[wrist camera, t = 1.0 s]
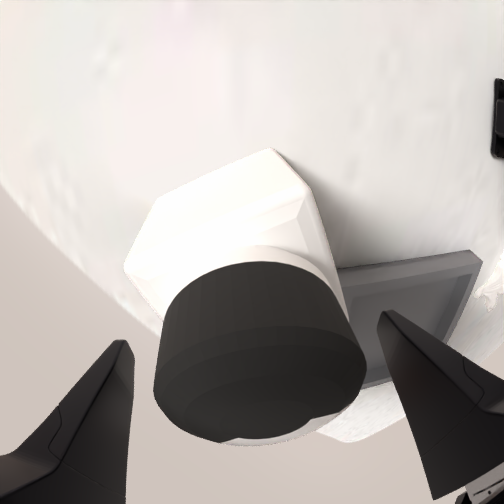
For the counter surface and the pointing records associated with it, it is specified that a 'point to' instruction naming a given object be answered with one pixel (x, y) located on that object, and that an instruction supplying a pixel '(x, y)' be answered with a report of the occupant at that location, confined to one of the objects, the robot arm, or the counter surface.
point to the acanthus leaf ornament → (493, 286)
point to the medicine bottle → (246, 306)
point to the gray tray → (407, 299)
